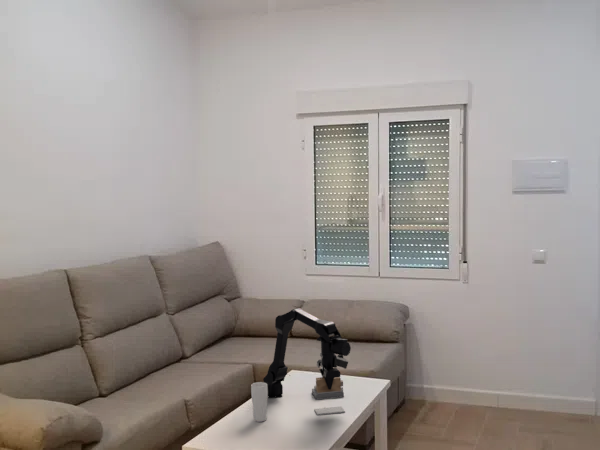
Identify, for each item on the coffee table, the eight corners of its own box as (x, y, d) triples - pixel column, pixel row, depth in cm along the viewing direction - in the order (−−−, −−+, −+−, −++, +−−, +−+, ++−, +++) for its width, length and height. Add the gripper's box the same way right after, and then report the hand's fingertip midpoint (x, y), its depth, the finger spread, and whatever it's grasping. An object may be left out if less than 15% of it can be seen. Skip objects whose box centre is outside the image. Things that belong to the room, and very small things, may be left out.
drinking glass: (256, 424, 249) (254, 388, 248) (249, 419, 255) (248, 383, 254) (271, 420, 252) (270, 385, 251) (264, 415, 258) (263, 380, 257)
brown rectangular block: (317, 392, 258) (317, 380, 257) (316, 390, 261) (316, 377, 260) (343, 390, 259) (343, 377, 259) (341, 388, 263) (341, 375, 262)
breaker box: (315, 399, 276) (315, 390, 276) (311, 392, 285) (311, 384, 285) (343, 396, 278) (343, 388, 278) (338, 390, 287) (338, 382, 287)
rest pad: (317, 415, 256) (317, 413, 256) (314, 410, 262) (314, 408, 262) (345, 412, 259) (344, 411, 259) (341, 407, 264) (341, 406, 264)
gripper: (352, 356, 251) (352, 393, 252) (340, 345, 270) (341, 379, 271) (325, 358, 249) (326, 395, 250) (316, 347, 268) (317, 382, 269)
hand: (328, 388), depth 260 cm, fingers closed on brown rectangular block, 3 cm apart
